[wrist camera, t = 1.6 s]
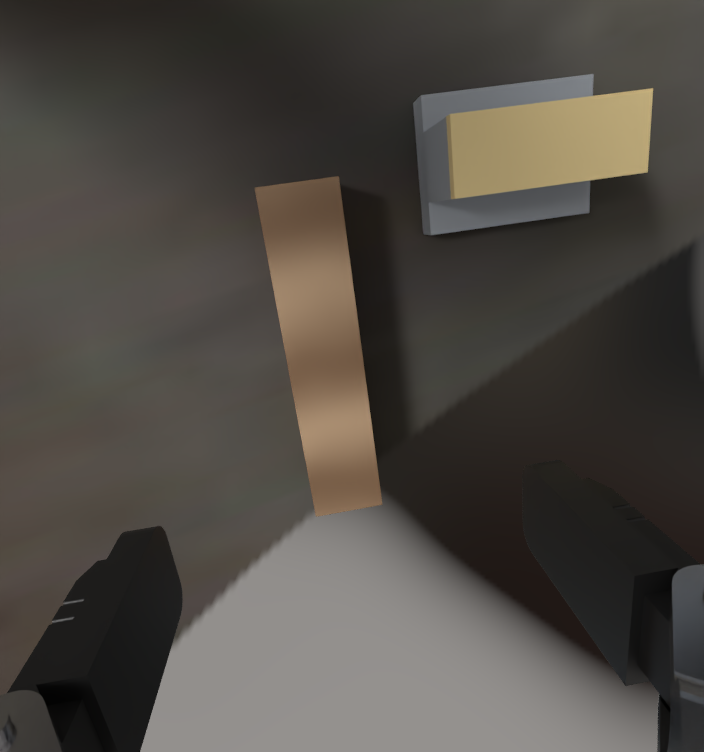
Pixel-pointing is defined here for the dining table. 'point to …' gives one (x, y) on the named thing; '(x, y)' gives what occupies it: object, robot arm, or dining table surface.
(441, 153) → the ridge block
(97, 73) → the dining table surface
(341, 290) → the walnut bar
